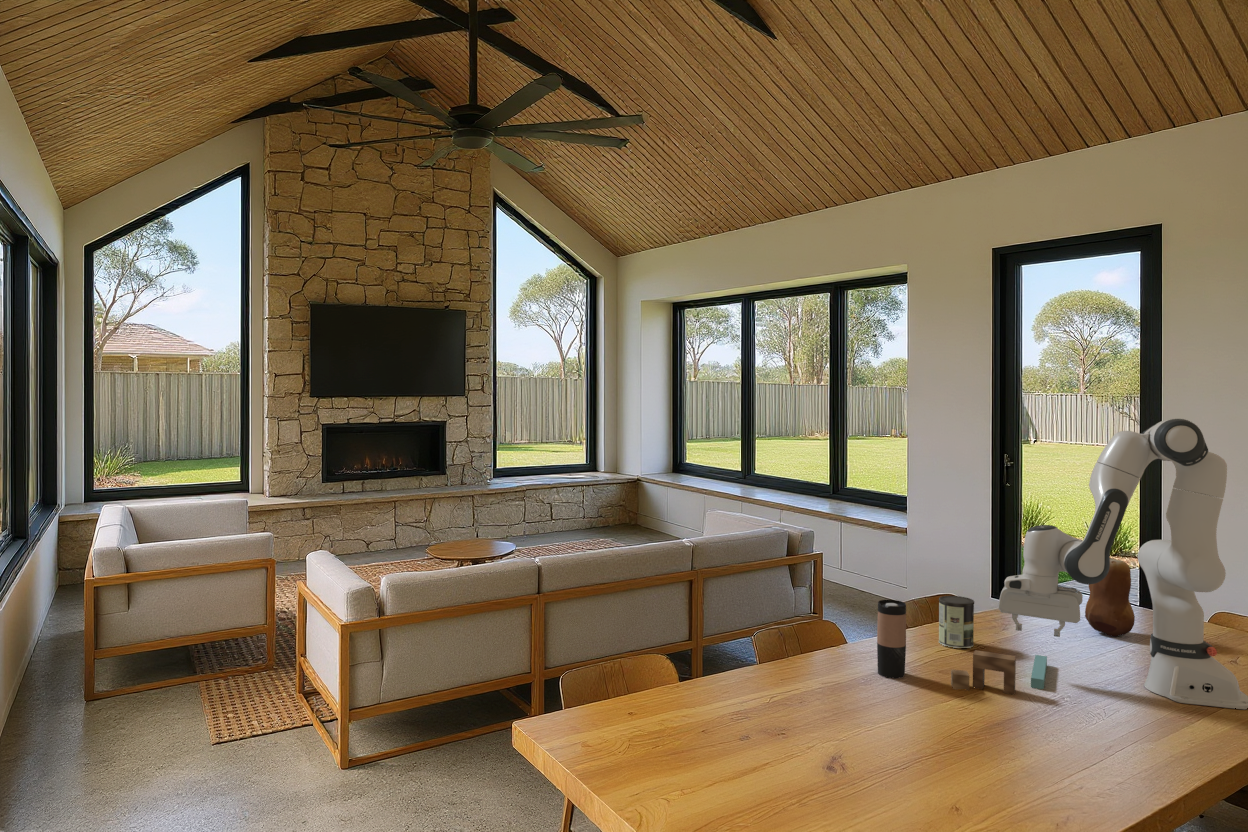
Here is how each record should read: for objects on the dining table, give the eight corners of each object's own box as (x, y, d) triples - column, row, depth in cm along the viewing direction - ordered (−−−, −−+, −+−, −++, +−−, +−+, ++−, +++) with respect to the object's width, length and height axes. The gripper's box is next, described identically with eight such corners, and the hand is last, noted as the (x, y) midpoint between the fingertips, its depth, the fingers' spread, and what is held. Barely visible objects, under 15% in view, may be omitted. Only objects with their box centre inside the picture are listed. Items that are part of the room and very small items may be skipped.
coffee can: (965, 639, 258) (966, 595, 257) (979, 649, 247) (980, 603, 247) (933, 639, 258) (933, 595, 257) (945, 649, 248) (946, 603, 247)
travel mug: (901, 669, 229) (902, 599, 228) (908, 679, 221) (909, 607, 221) (874, 668, 230) (875, 599, 229) (880, 678, 222) (880, 606, 221)
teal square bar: (1046, 666, 233) (1047, 656, 233) (1043, 691, 214) (1043, 679, 214) (1035, 664, 235) (1035, 654, 234) (1030, 688, 215) (1030, 677, 215)
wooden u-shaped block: (1015, 689, 214) (1015, 656, 213) (1014, 694, 210) (1014, 660, 210) (974, 683, 219) (974, 650, 218) (972, 687, 215) (973, 654, 215)
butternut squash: (1134, 632, 265) (1135, 557, 264) (1134, 643, 254) (1135, 564, 253) (1085, 626, 273) (1086, 552, 272) (1083, 636, 261) (1085, 559, 260)
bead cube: (966, 685, 217) (967, 670, 217) (969, 690, 213) (969, 675, 213) (950, 684, 218) (951, 669, 218) (953, 689, 214) (953, 674, 214)
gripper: (1083, 586, 221) (1080, 636, 222) (1000, 576, 231) (998, 624, 232) (1082, 591, 216) (1080, 642, 216) (998, 580, 226) (996, 629, 226)
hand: (1037, 633), depth 224 cm, fingers open, 8 cm apart
